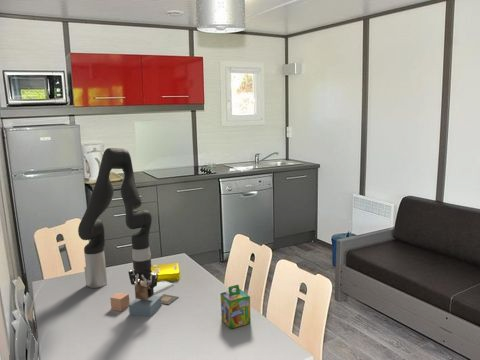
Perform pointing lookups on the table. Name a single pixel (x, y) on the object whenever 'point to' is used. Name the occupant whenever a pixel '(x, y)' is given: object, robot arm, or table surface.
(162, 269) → the element tile
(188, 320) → the table surface
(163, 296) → the tile
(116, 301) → the terracotta cube
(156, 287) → the hard drive
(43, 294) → the table surface
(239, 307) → the chalk box
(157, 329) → the table surface
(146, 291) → the walnut cube
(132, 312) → the slate base block
